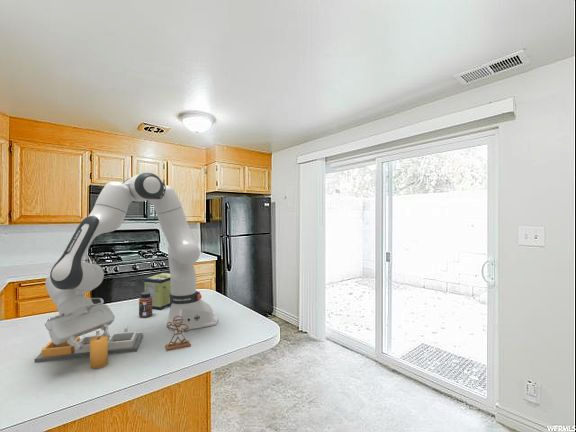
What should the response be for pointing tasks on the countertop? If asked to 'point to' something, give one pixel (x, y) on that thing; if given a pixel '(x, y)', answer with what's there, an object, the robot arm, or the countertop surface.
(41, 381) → the countertop surface
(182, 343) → the gingerbread man figurine
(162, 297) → the protein box
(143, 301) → the supplement bottle
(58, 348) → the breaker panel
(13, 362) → the countertop surface
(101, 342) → the cap
